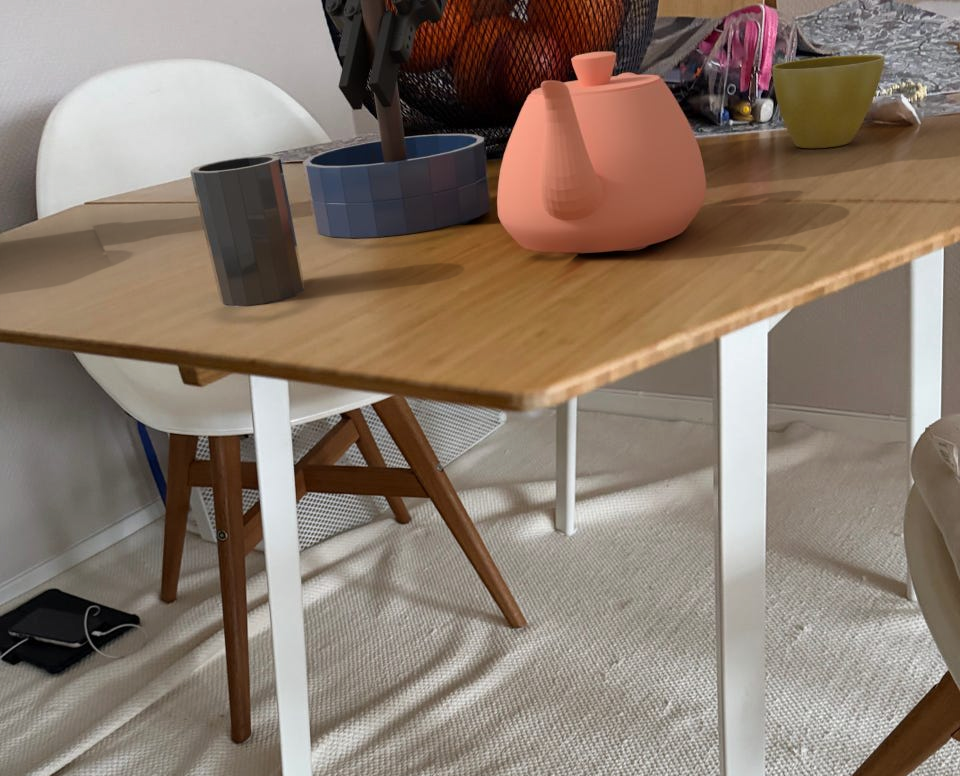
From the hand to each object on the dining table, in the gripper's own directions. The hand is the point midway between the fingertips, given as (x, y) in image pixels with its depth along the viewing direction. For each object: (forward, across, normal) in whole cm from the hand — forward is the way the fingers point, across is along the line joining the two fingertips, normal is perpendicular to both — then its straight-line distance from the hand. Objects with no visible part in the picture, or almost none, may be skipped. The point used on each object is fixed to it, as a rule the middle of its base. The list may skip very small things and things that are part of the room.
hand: (365, 96), depth 86 cm
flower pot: (-16, -32, -31) cm, 47 cm away
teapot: (+11, -20, -4) cm, 23 cm away
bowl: (+5, 0, -10) cm, 11 cm away
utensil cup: (+22, 0, +7) cm, 23 cm away
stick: (+4, 0, -10) cm, 10 cm away
